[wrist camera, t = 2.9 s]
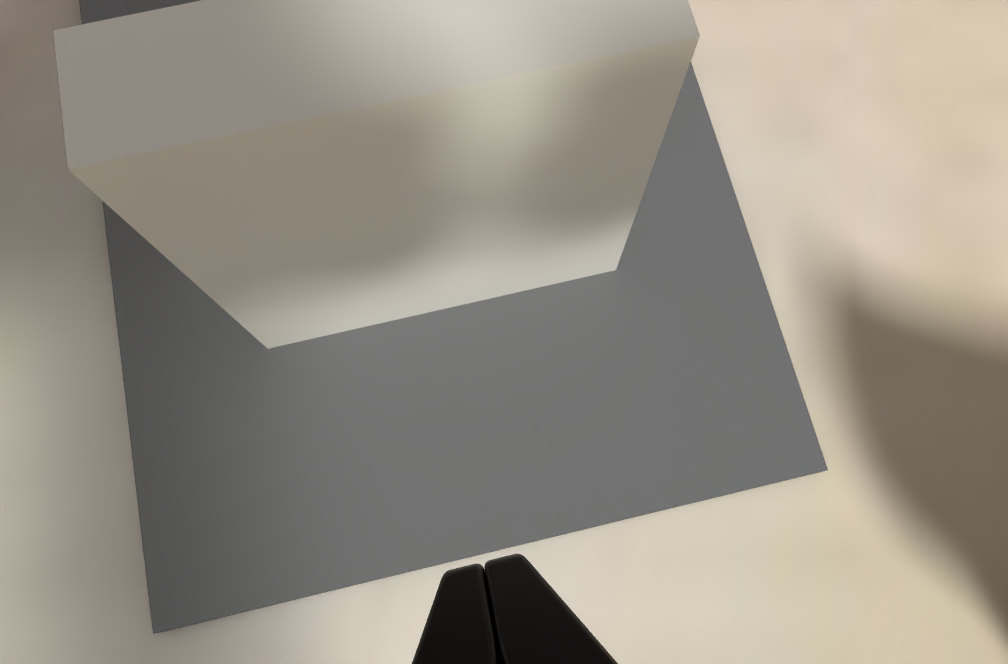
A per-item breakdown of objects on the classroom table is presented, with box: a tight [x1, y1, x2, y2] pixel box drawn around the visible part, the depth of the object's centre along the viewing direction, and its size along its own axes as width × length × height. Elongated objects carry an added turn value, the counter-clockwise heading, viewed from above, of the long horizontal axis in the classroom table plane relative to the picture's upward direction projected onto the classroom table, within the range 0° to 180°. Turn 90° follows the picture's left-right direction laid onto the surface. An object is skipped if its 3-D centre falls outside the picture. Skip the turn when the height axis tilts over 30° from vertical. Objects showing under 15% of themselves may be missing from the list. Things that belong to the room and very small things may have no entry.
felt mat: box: [79, 0, 828, 634], centre depth 25 cm, size 22×18×1 cm
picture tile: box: [53, 0, 700, 349], centre depth 19 cm, size 2×10×11 cm, turn 103°
